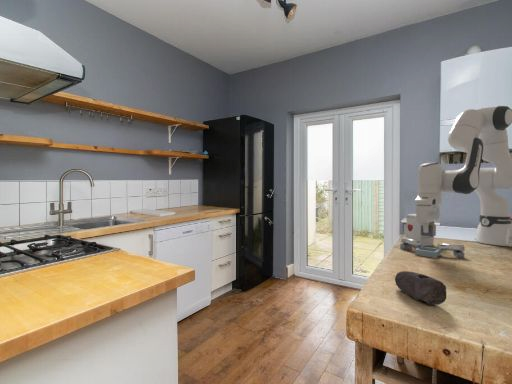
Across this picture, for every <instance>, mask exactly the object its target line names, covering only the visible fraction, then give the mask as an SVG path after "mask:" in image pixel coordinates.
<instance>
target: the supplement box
mask: <svg viewBox="0 0 512 384" xmlns="http://www.w3.org/2000/svg"><path fill="white" fill-rule="evenodd" d="M421 225H422V223H418V222H417V220H416V213H409V214H406V229H405V232H406V233H405V235H406V236H405V238H408V239H412V240H417V241H421V242H422V246H423V247H427V246H428V247H429V246H434V244H435V243H434V240H435V239H434V237H435V236H433V237H430V236H422V235H421Z"/></svg>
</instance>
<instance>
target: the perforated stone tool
mask: <svg viewBox="0 0 512 384" xmlns="http://www.w3.org/2000/svg"><path fill="white" fill-rule="evenodd" d="M394 281H395V285H396V286H397V287H398V289H399V290H400V291H402V292H403V293H405V294H407V295H408V296H409V297H411V298H413V299H414V300H416V301H422V302H425V303H426V304H427V305H430V306H432V305H441V304H443V303H445V302H446V300H447V294H448V293H447V287H446V285H445V283H444V282H442V281H441V280H438V279H436V278H433V277H431V276H428V275H426V274H422V273H418V272H414V271H410V270H409V271H406V270H402V271H399V272H397V273H396V274H395V276H394Z"/></svg>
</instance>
